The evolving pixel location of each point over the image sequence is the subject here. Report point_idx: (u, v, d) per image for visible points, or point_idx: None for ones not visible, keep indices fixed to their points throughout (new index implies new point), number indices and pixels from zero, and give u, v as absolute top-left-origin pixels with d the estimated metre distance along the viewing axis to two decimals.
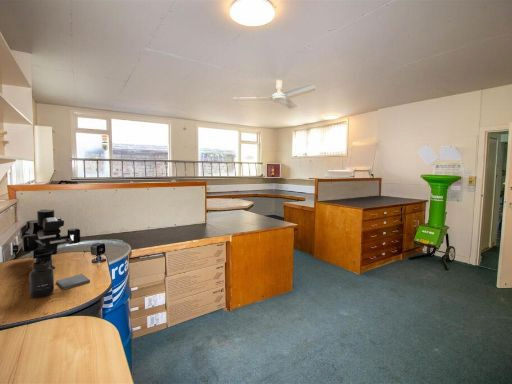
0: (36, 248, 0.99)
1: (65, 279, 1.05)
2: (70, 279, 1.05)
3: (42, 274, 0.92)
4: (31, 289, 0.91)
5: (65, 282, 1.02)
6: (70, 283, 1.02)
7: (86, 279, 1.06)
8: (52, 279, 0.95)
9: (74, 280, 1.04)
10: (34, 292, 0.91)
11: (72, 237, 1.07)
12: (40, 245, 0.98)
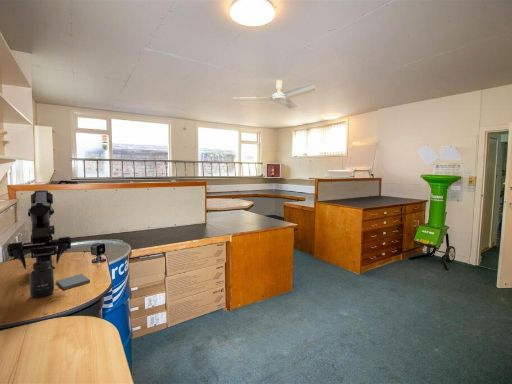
0: (20, 260, 0.95)
1: (65, 279, 1.05)
2: (70, 279, 1.05)
3: (42, 274, 0.92)
4: (31, 289, 0.91)
5: (65, 282, 1.02)
6: (70, 283, 1.02)
7: (86, 279, 1.06)
8: (52, 279, 0.95)
9: (74, 280, 1.04)
10: (34, 292, 0.91)
11: (58, 254, 1.00)
12: (22, 263, 0.94)
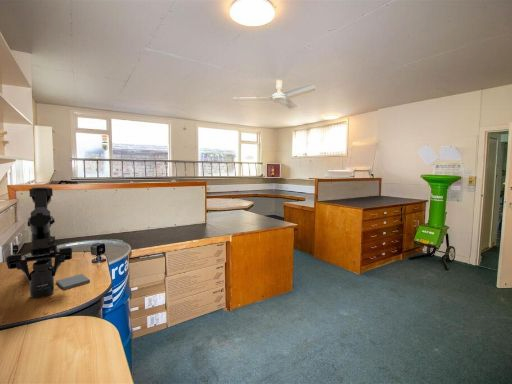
0: (24, 272, 0.93)
1: (65, 279, 1.05)
2: (70, 279, 1.05)
3: (42, 274, 0.92)
4: (31, 289, 0.91)
5: (65, 282, 1.02)
6: (70, 283, 1.02)
7: (86, 279, 1.06)
8: (52, 278, 0.95)
9: (74, 280, 1.04)
10: (34, 292, 0.91)
11: (56, 267, 0.96)
12: (26, 275, 0.91)
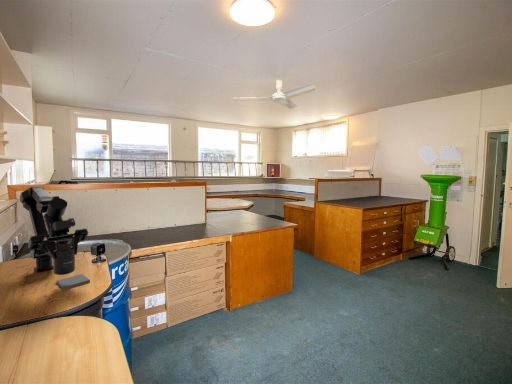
0: (46, 252, 0.98)
1: (65, 279, 1.05)
2: (70, 279, 1.05)
3: (68, 252, 0.99)
4: (57, 267, 0.98)
5: (65, 282, 1.02)
6: (70, 283, 1.02)
7: (86, 279, 1.06)
8: (74, 257, 1.02)
9: (74, 280, 1.04)
10: (60, 269, 0.98)
11: (76, 246, 1.04)
12: (51, 254, 0.97)
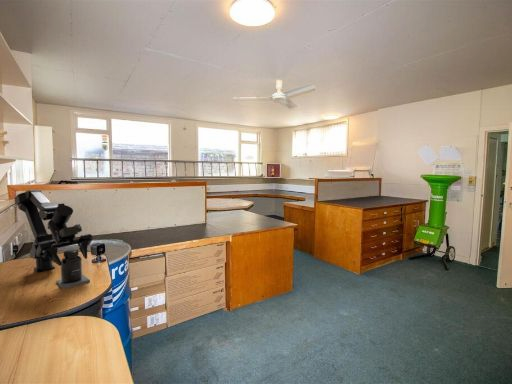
0: (51, 258, 1.00)
1: None
2: None
3: (76, 260, 1.03)
4: (66, 275, 1.01)
5: None
6: (70, 283, 1.02)
7: (86, 279, 1.06)
8: (81, 264, 1.06)
9: None
10: (69, 277, 1.01)
11: (86, 250, 1.08)
12: (57, 261, 0.99)
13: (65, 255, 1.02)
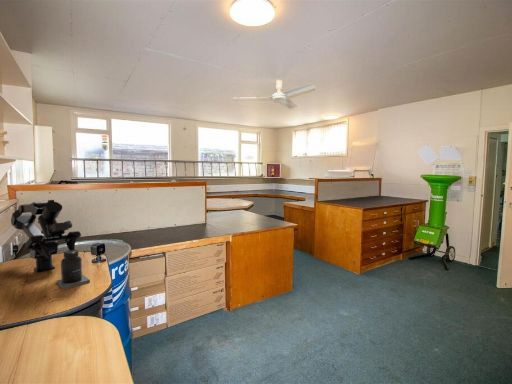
0: (39, 251, 1.04)
1: None
2: None
3: (76, 260, 1.03)
4: (66, 275, 1.01)
5: None
6: (70, 283, 1.02)
7: (86, 279, 1.06)
8: (81, 265, 1.06)
9: None
10: (69, 277, 1.01)
11: (73, 246, 1.13)
12: (45, 254, 1.04)
13: (65, 255, 1.02)
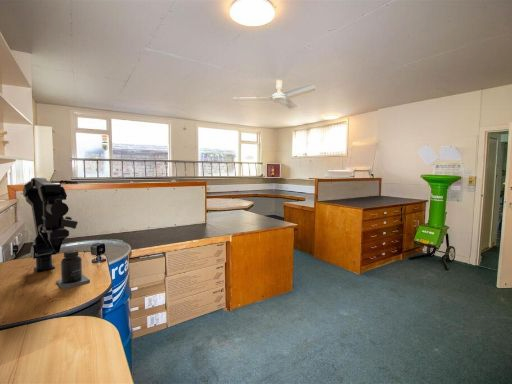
0: (53, 243, 1.02)
1: None
2: None
3: (76, 260, 1.03)
4: (66, 275, 1.01)
5: None
6: (70, 283, 1.02)
7: (86, 279, 1.06)
8: (81, 265, 1.06)
9: None
10: (70, 277, 1.01)
11: None
12: (58, 248, 1.04)
13: (65, 255, 1.02)
